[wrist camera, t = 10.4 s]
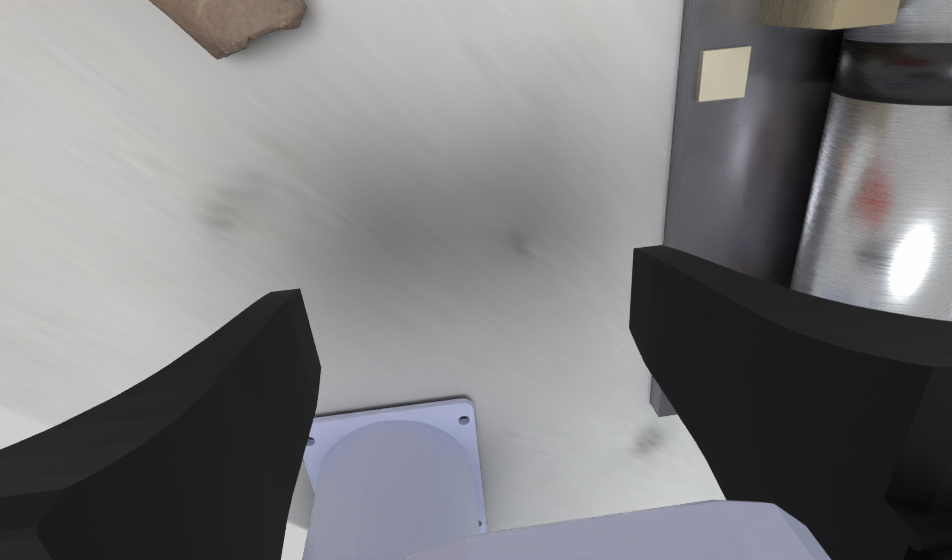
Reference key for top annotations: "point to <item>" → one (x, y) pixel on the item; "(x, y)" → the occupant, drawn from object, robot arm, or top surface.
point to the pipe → (231, 20)
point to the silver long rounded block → (886, 171)
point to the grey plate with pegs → (752, 128)
